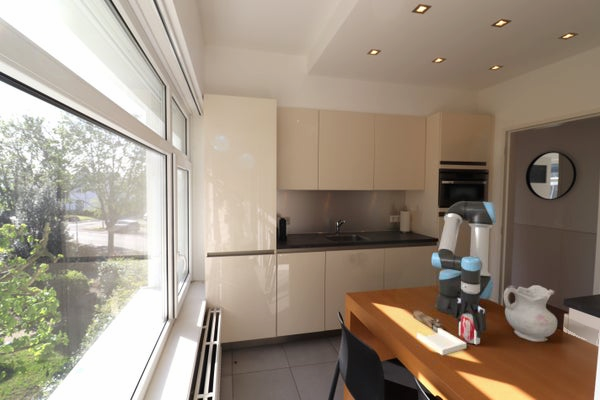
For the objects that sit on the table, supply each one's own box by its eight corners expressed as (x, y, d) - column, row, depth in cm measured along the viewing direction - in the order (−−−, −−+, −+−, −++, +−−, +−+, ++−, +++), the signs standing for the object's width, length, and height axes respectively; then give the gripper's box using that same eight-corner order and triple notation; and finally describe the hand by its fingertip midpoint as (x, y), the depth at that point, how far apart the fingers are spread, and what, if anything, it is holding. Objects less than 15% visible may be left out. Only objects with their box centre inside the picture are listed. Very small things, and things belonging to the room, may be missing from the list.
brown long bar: (442, 330, 136) (442, 323, 136) (437, 331, 135) (438, 324, 135) (417, 316, 152) (417, 309, 152) (413, 317, 151) (413, 310, 150)
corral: (437, 327, 140) (437, 317, 140) (471, 346, 123) (471, 335, 123) (410, 333, 134) (411, 323, 134) (442, 355, 117) (442, 342, 116)
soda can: (480, 345, 123) (481, 319, 122) (463, 343, 124) (464, 318, 124) (474, 336, 130) (474, 312, 129) (457, 335, 131) (458, 311, 131)
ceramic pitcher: (525, 350, 122) (532, 297, 119) (489, 325, 141) (494, 279, 138) (565, 346, 126) (573, 295, 123) (524, 322, 145) (530, 277, 142)
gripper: (445, 284, 134) (444, 330, 135) (486, 300, 115) (484, 353, 117) (456, 282, 137) (455, 327, 138) (497, 298, 118) (496, 349, 119)
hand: (469, 338), depth 127 cm, fingers closed on soda can, 7 cm apart
